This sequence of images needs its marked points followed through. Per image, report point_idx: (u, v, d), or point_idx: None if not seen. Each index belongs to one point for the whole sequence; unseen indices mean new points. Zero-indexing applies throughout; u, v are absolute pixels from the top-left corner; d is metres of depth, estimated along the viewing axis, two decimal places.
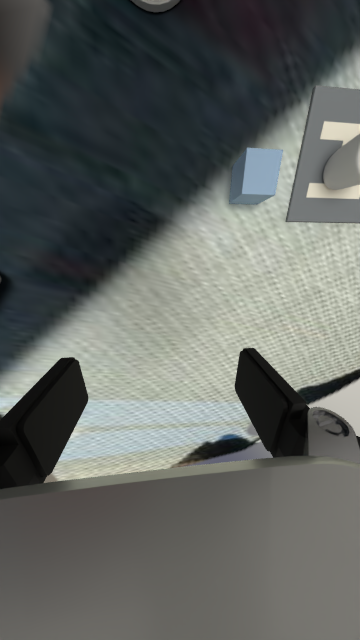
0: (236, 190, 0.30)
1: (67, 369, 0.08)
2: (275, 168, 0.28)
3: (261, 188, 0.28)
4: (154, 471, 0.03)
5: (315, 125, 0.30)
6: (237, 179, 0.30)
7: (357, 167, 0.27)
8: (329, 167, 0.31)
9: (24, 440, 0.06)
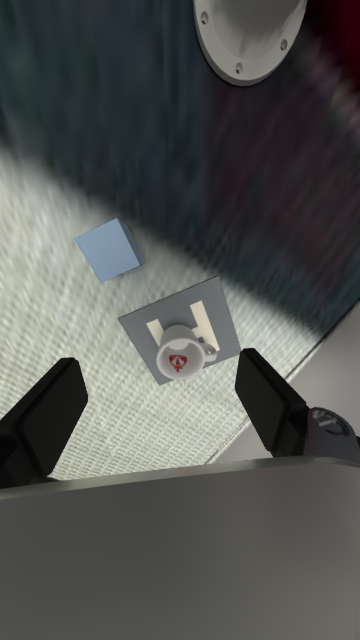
0: None
1: (67, 369, 0.08)
2: (121, 267, 0.23)
3: (95, 261, 0.22)
4: (154, 471, 0.03)
5: (195, 294, 0.30)
6: None
7: (159, 350, 0.26)
8: (169, 328, 0.30)
9: (24, 440, 0.06)
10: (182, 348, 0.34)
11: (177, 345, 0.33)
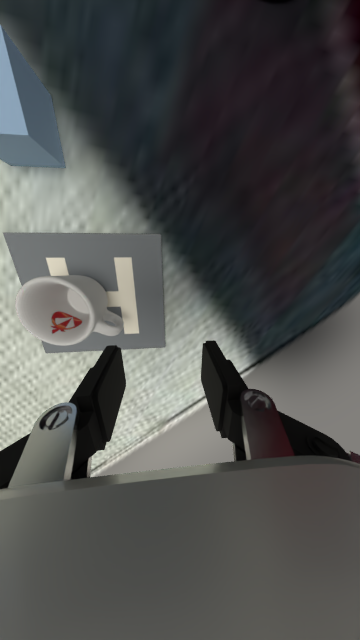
0: None
1: (115, 354, 0.09)
2: None
3: None
4: (154, 471, 0.03)
5: (125, 246, 0.23)
6: None
7: (23, 285, 0.17)
8: None
9: (97, 408, 0.07)
10: (87, 312, 0.25)
11: (82, 306, 0.25)
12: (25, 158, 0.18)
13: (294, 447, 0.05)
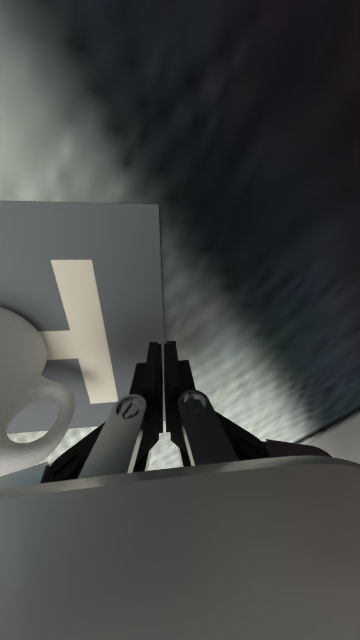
0: None
1: (160, 350, 0.09)
2: None
3: None
4: (154, 471, 0.03)
5: (76, 233, 0.10)
6: None
7: None
8: None
9: (158, 399, 0.07)
10: None
11: None
12: None
13: None
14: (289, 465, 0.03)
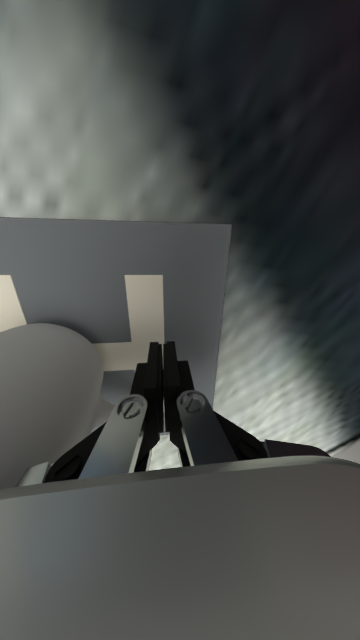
0: None
1: (161, 350, 0.09)
2: None
3: None
4: (154, 471, 0.03)
5: (152, 250, 0.10)
6: None
7: None
8: (11, 330, 0.09)
9: (158, 399, 0.07)
10: None
11: None
12: None
13: None
14: (289, 465, 0.03)
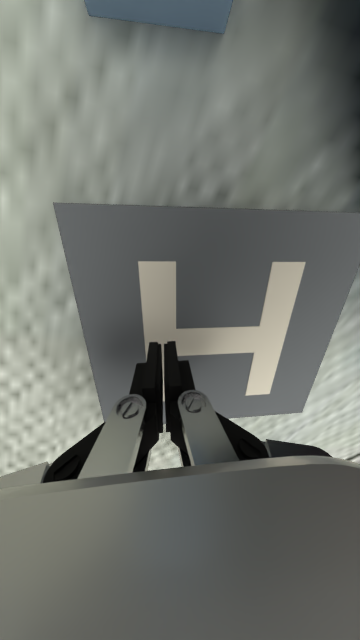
0: None
1: (160, 350, 0.09)
2: None
3: None
4: (154, 471, 0.03)
5: (303, 238, 0.11)
6: None
7: None
8: None
9: (158, 399, 0.07)
10: None
11: None
12: None
13: None
14: (289, 465, 0.03)
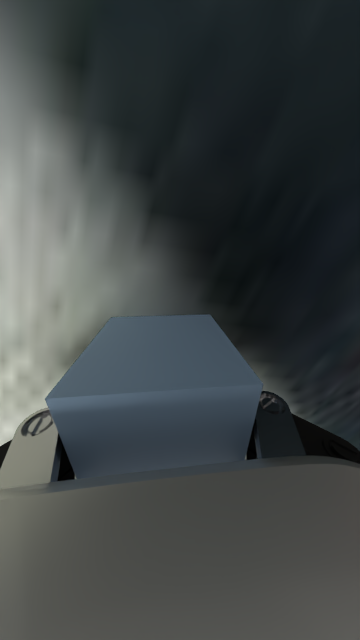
0: (119, 345, 0.07)
1: None
2: None
3: (102, 470, 0.06)
4: (154, 471, 0.03)
5: None
6: (158, 342, 0.07)
7: None
8: None
9: None
10: None
11: None
12: None
13: (311, 451, 0.05)
14: (289, 465, 0.03)
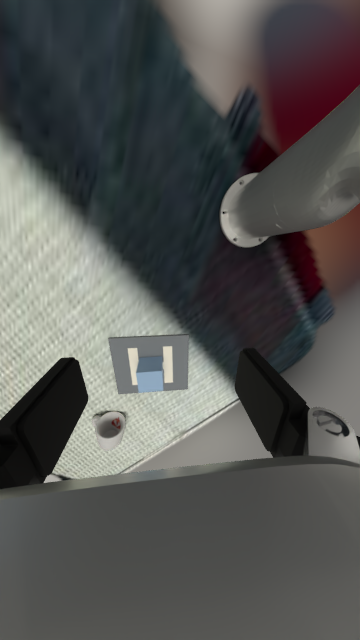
0: (142, 365, 0.41)
1: (67, 369, 0.08)
2: (153, 389, 0.40)
3: (141, 383, 0.40)
4: (154, 471, 0.03)
5: (169, 341, 0.43)
6: (149, 364, 0.41)
7: (117, 436, 0.45)
8: (108, 448, 0.46)
9: (24, 440, 0.06)
10: (112, 430, 0.52)
11: (113, 434, 0.51)
12: None
13: None
14: (289, 465, 0.03)
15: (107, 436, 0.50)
